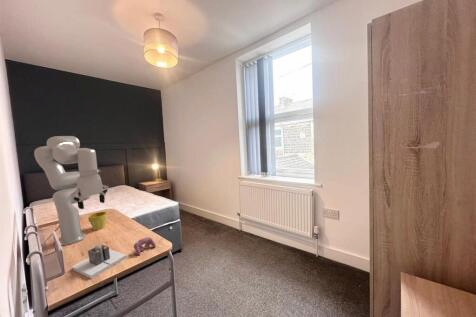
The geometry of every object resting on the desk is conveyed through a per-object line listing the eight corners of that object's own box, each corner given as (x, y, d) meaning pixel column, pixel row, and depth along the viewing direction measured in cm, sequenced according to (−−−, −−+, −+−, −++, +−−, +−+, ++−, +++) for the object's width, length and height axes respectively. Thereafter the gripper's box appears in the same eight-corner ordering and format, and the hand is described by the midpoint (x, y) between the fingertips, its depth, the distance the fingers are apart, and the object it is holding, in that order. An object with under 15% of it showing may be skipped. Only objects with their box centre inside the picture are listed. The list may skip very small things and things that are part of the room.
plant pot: (101, 231, 130) (99, 217, 129) (86, 232, 130) (84, 217, 129) (111, 224, 140) (110, 211, 139) (97, 225, 140) (95, 211, 139)
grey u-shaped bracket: (89, 262, 94) (87, 250, 93) (102, 255, 99) (101, 243, 98) (96, 265, 91) (95, 253, 90) (110, 258, 96) (108, 246, 96)
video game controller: (153, 247, 110) (149, 235, 111) (157, 246, 107) (152, 234, 108) (135, 256, 102) (131, 243, 103) (138, 255, 99) (134, 242, 100)
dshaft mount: (72, 269, 92) (69, 252, 91) (107, 251, 106) (105, 235, 105) (91, 278, 84) (88, 260, 83) (126, 257, 99) (124, 241, 98)
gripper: (102, 169, 110) (105, 199, 112) (64, 176, 94) (68, 210, 97) (110, 170, 106) (113, 201, 109) (72, 177, 91) (76, 212, 93)
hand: (92, 205), depth 103 cm, fingers open, 9 cm apart
